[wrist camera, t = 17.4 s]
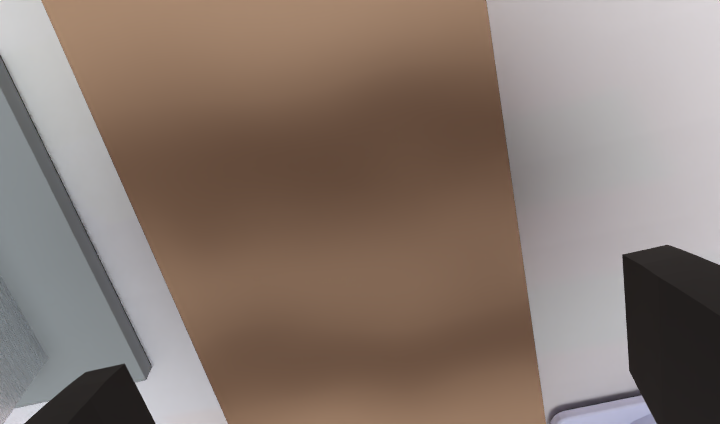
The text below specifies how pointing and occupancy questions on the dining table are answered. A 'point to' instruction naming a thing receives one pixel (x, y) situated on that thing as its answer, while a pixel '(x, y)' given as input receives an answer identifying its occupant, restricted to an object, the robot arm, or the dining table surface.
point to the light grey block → (16, 353)
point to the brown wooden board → (321, 200)
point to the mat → (54, 264)
